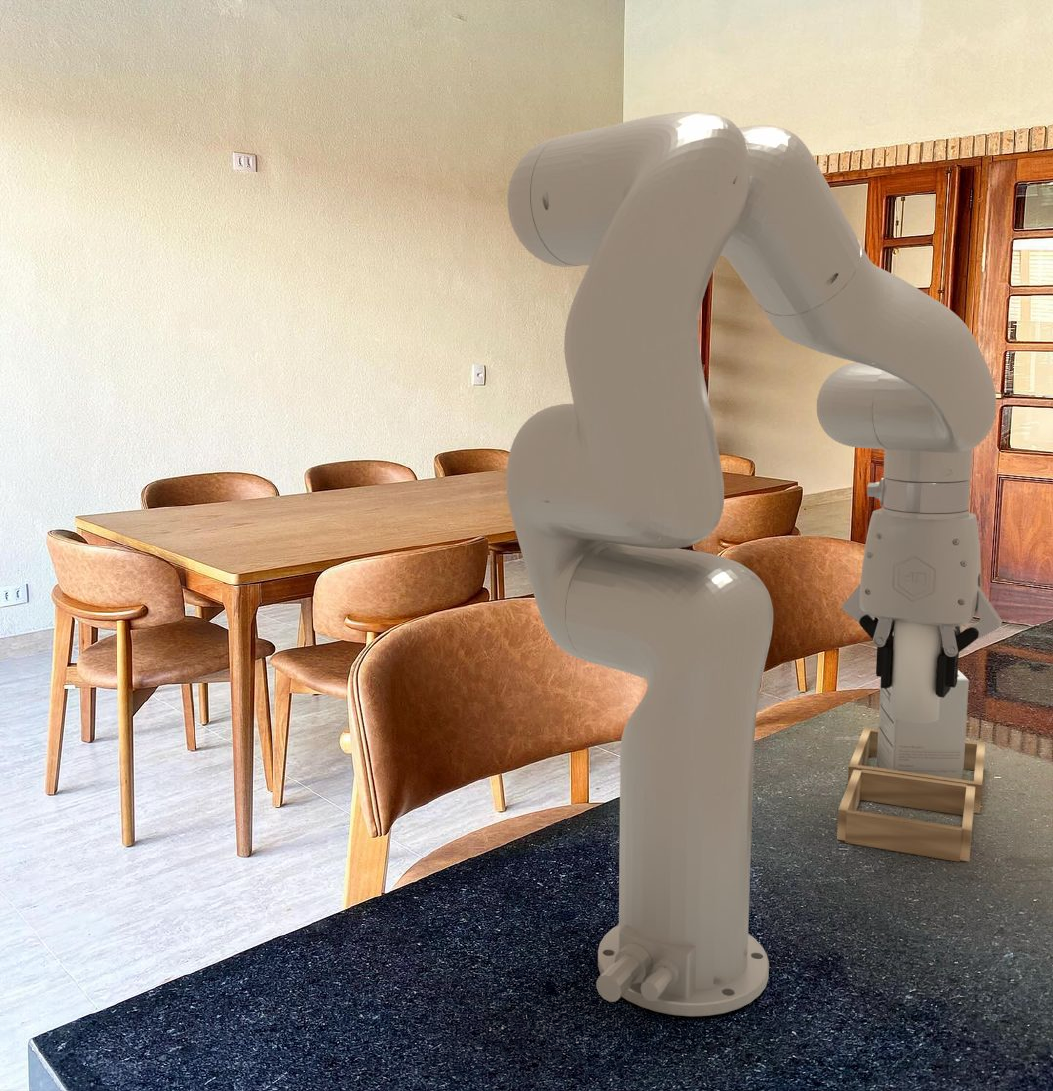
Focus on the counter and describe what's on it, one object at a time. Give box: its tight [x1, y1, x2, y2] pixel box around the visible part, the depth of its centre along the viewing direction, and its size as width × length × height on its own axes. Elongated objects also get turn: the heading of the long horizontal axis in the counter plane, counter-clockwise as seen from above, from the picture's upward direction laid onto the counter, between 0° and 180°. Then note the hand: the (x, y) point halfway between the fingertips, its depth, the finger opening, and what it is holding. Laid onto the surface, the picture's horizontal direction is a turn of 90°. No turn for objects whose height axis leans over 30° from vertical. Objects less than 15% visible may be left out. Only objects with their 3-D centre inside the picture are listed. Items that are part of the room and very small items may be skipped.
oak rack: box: [836, 727, 986, 863], centre depth 110 cm, size 25×13×3 cm, turn 156°
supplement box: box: [876, 669, 970, 780], centre depth 115 cm, size 7×7×13 cm
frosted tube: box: [890, 620, 943, 723], centre depth 102 cm, size 5×5×12 cm
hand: (915, 687), depth 103 cm, fingers closed on frosted tube, 4 cm apart
